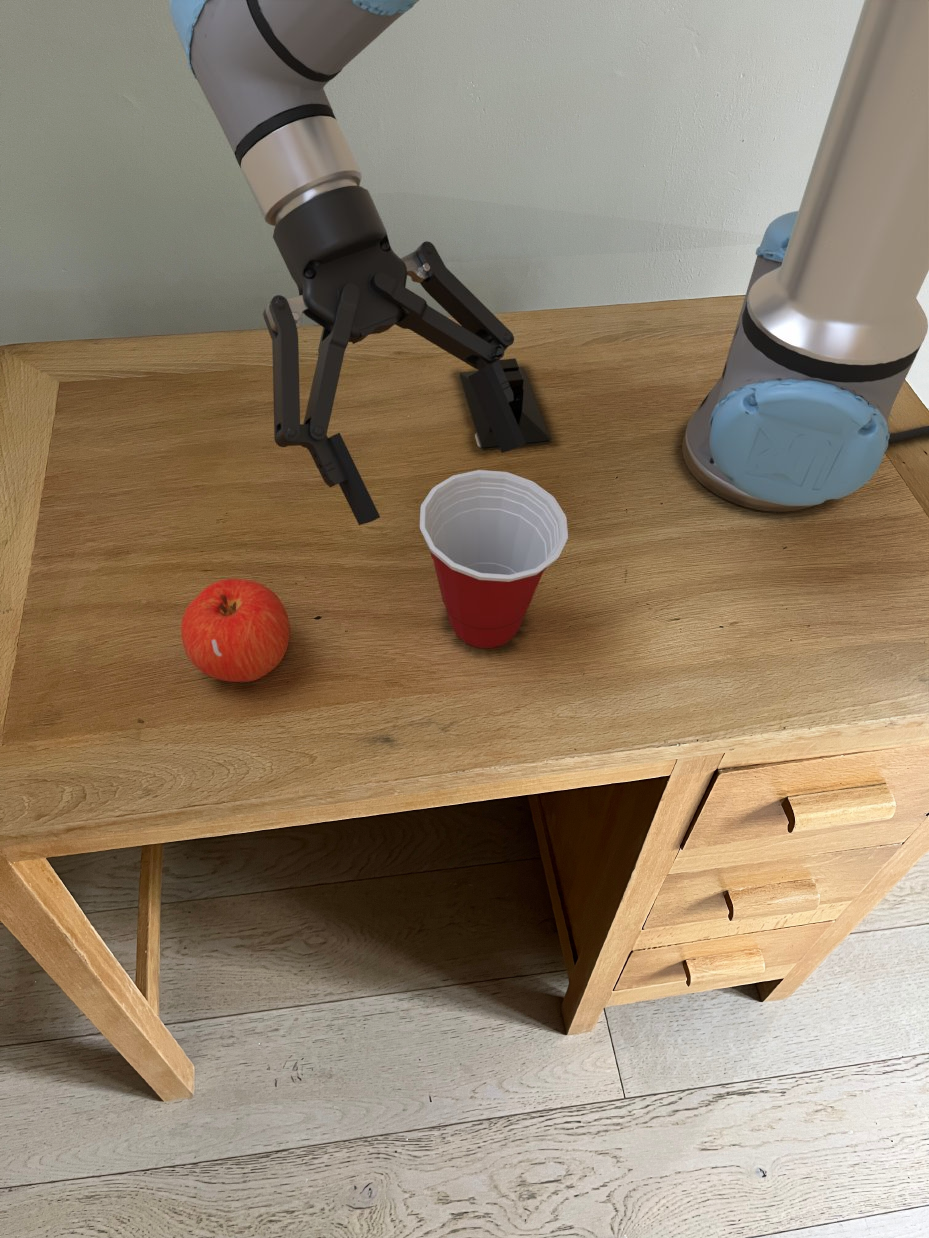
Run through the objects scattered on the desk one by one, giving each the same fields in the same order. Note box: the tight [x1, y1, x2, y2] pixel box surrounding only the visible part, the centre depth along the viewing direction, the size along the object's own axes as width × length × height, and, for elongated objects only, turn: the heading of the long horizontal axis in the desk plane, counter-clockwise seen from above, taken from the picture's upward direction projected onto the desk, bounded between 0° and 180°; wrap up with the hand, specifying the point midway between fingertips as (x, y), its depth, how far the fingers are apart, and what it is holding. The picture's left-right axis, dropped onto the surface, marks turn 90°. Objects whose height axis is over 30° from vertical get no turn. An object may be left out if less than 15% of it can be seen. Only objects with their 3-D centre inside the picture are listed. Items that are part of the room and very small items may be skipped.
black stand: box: [458, 358, 551, 451], centre depth 87 cm, size 12×7×5 cm, turn 11°
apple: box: [180, 578, 291, 683], centre depth 65 cm, size 8×8×8 cm
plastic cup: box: [419, 469, 569, 649], centre depth 66 cm, size 11×11×12 cm
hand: (444, 484), depth 65 cm, fingers open, 13 cm apart
